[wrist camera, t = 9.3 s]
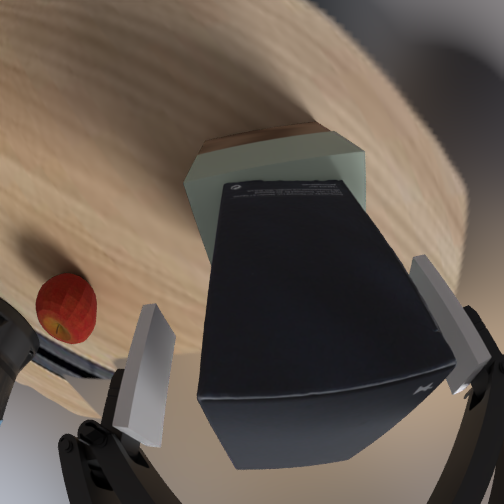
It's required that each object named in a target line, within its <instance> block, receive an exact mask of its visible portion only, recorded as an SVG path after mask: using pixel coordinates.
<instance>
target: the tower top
mask: <svg viewBox="0 0 504 504" xmlns="http://www.w3.org/2000/svg"><path fill="white" fill-rule="evenodd" d="M334 179H335V180H338V181H339V180H343V182H344V183H345V184H346V185H347V187H348V188H349V190H350V191H351V192H352V194H353V195H354V197H355V198H356V199H357V201H358V202H359V204H360V205H361V206H362V208H363V209H364V211H365V212H366V169H365V151H364V150H362V149H361V148H359V147H358V146H356V145H355V144H353V143H352V142H350V141H349V140H347V139H346V138H344V137H343V136H341V135H340V134H338V133H337V132H335V131H329V132H320V133H312V134H304V135H297V136H290V137H284V138H278V139H272V140H266V141H260V142H255V143H250V144H244V145H239V146H235V147H230V148H225V149H221V150H216V151H212V152H208V153H204V154H199V155H197V157H196V159H195V161H194V162H193V164H192V166H191V168H190V170H189V172H188V174H187V176H186V178H185V180H184V182H183V184H184V187H185V190H186V193H187V196H188V199H189V202H190V205H191V208H192V211H193V214H194V217H195V220H196V223H197V226H198V229H199V232H200V235H201V238H202V241H203V244H204V247H205V249H206V252H207V255H208V258H209V261H210V264H211V266H212V258H213V251H214V245H215V237H216V229H217V223H218V216H219V209H220V203H221V196H222V190H223V185H224V184H226V183H234V182H243V181H252V180H263V181H278V180H282V181H296V180H298V181H314V180H319V181H326V180H334Z"/></svg>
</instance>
